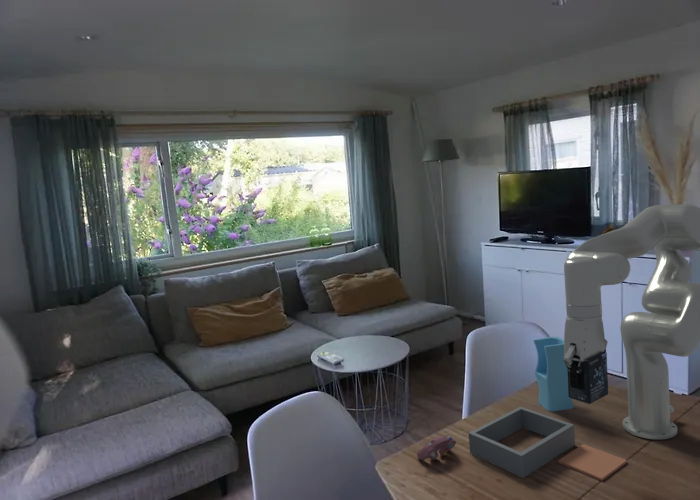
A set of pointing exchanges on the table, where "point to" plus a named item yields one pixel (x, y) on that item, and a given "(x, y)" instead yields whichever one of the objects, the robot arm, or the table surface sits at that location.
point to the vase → (552, 374)
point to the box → (591, 379)
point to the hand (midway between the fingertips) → (587, 382)
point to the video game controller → (436, 447)
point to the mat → (592, 462)
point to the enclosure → (529, 459)
